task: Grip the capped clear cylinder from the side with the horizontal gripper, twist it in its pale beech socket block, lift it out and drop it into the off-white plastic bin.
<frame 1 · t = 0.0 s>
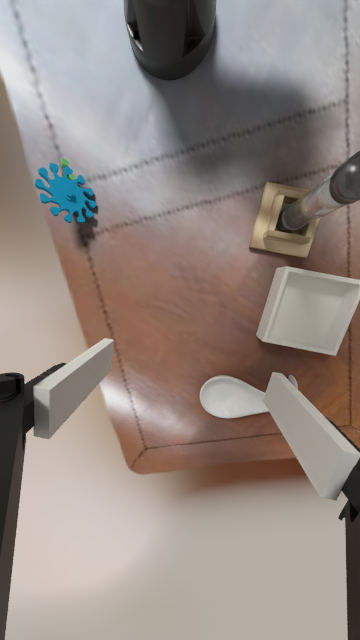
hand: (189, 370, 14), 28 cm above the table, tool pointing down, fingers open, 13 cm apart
spoon rest: (244, 385, 45), on the table
gear: (80, 201, 38), on the table
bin: (300, 309, 40), on the table
socket block: (285, 222, 36), on the table
capped clear cylinder: (287, 220, 35), point 1 cm above the table, touching socket block
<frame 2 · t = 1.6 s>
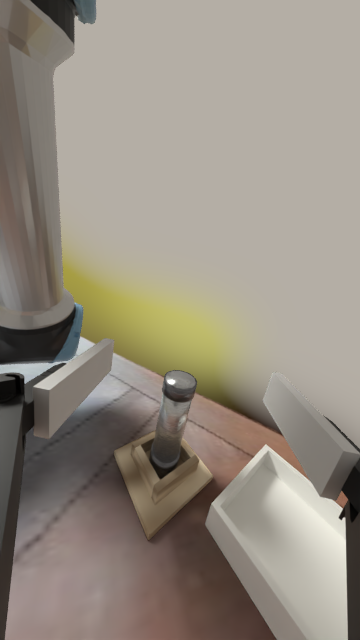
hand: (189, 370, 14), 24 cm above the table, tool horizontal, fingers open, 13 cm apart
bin: (289, 547, 23), on the table
socket block: (162, 467, 29), on the table
capped clear cylinder: (163, 462, 29), point 1 cm above the table, touching socket block
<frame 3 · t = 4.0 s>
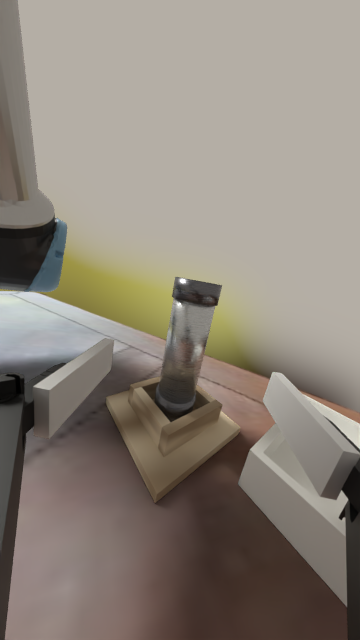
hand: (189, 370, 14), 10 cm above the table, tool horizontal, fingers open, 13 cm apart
socket block: (170, 418, 22), on the table
capped clear cylinder: (172, 411, 21), point 1 cm above the table, touching socket block
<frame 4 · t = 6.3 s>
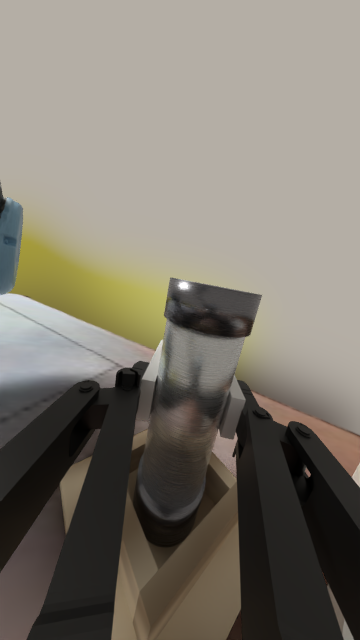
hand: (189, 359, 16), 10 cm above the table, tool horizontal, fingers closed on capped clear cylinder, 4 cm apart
socket block: (163, 508, 13), on the table
capped clear cylinder: (165, 499, 13), point 1 cm above the table, touching gripper, socket block
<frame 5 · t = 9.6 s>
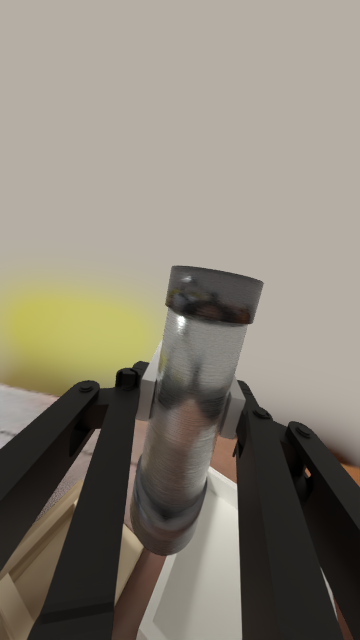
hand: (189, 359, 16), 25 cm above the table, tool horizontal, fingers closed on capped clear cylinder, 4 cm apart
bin: (238, 596, 19), on the table
socket block: (61, 577, 18), on the table
capped clear cylinder: (164, 503, 12), point 17 cm above the table, touching gripper
when the fingers open (12 cm above the table, at t = 12.9 s): capped clear cylinder drops 2 cm, resting on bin.
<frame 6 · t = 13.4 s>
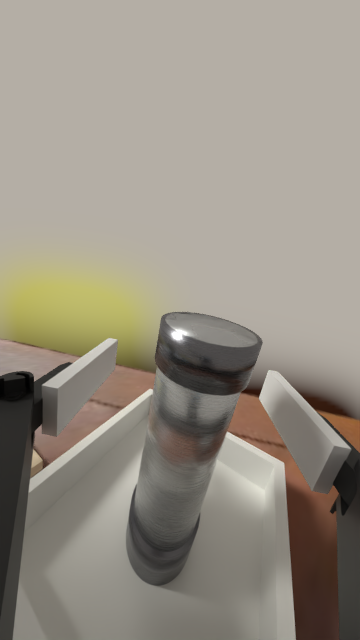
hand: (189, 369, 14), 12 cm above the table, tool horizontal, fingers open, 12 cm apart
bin: (159, 524, 14), on the table
capped clear cylinder: (159, 528, 13), point 1 cm above the table, touching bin
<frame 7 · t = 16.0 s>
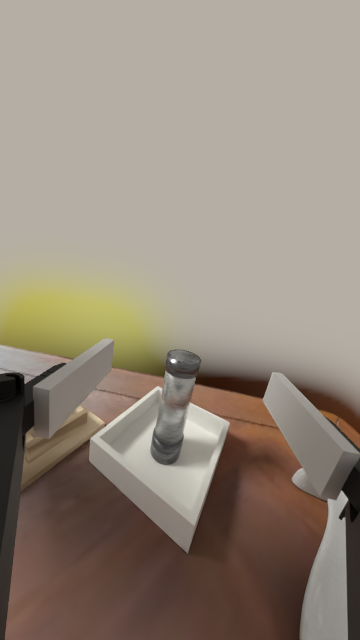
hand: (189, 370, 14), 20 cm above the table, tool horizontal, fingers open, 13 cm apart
spoon rest: (344, 625, 16), on the table
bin: (165, 449, 28), on the table
socket block: (47, 432, 28), on the table
capped clear cylinder: (165, 449, 27), point 1 cm above the table, touching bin
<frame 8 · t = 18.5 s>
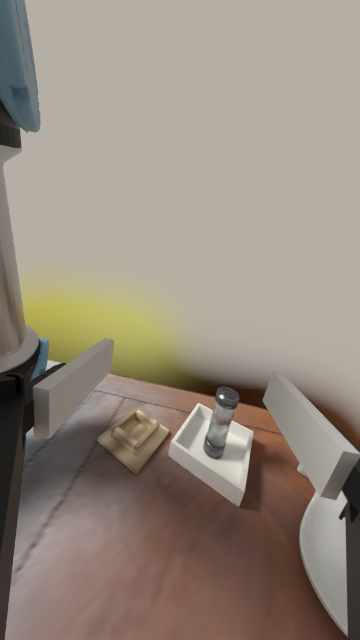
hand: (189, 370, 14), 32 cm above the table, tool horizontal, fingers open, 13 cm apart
spoon rest: (322, 538, 31), on the table
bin: (211, 449, 43), on the table
socket block: (135, 436, 42), on the table
capped clear cylinder: (212, 449, 42), point 1 cm above the table, touching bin
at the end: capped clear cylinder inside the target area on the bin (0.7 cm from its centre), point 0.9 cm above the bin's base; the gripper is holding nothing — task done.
